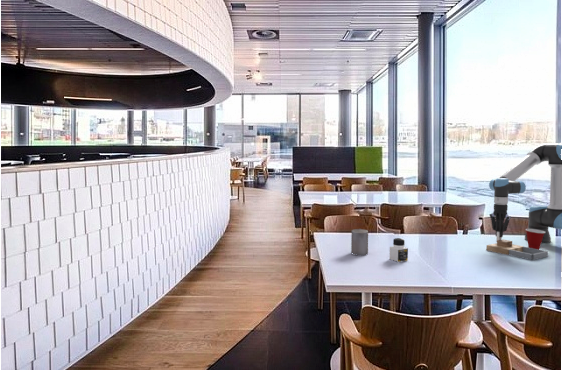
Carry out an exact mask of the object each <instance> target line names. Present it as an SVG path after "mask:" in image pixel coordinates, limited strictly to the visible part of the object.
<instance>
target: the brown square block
mask: <svg viewBox="0 0 562 370" xmlns="http://www.w3.org/2000/svg"><path fill="white" fill-rule="evenodd" d="M496 240H497V239H496ZM496 243H497V245H498V246H503V247H510V246H512V244H513V240H510V239H509V240H507V239H503V238H501V240H497V242H496Z"/></svg>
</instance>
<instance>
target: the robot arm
mask: <svg viewBox="0 0 562 370" xmlns="http://www.w3.org/2000/svg"><path fill="white" fill-rule="evenodd" d="M561 149H562V142H546V143H542V144H540V145H537V146H536V147H535V148H532V149H531V150H530V151H529V152H527V153H526V156H525V157H524V158H523V159H521V160H520V161H519V162H518V163H516V164H514V166H513V167H511V168H510V169H508V171H506V172H505V173H504V174H502V175H500V177H498V178H494V179H491V180H490V181H489V183H488V187H489V189H490V190H491V191H493V192H494V193H493V194H494V196H493V197H494V198H493V203H494V204H493V212H492V213H490V214H489V217H490V221H491V226H492V227H491V228H492V230H493V231H495V237H496V240H495V243H497V240H502V239H503V236H504V232H506V231H507V229H508V226H509V223H510V220H511V219H512V216H509V214H508V203H509V194H510V195H511V194H513V195H514V194H517V195H519V194H523V193H524V192H525V191H526V190H527V189H526V187H527V185H526V183H525V182H524V181H521V180H520V181H519V180H518V179H520V178H521V177H522V176H523V175H524V174H526V173H527V172H528V171H530V169H532V168H533V167H534V166H536V165H540V164H541V163H544V162H547V163H548V166H549V167H550V186H549V187H550V188H549V204H548V205H536V206H535V205H533V206H530V207H529V211H528V226H527V229H536V230H541V231H545V234H544V236H543V239H542V242H541V244H542V243H543V244H545V243H550V242H552V240H551V239H552V237H551V234H550V231H549V228H552V229H556V230H562V160H561V155H560V154H561ZM524 240H525V241H527V234H526V233H525V235H524Z"/></svg>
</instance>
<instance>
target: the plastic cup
mask: <svg viewBox="0 0 562 370" xmlns="http://www.w3.org/2000/svg"><path fill="white" fill-rule="evenodd" d="M525 234H527V240H526V241H527V246H528V248H533V249H538V250H541V245H542V243H541V242H542V239H543V236H544V234H545V231H541V230H536V229H528V228H525Z"/></svg>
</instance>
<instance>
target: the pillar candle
mask: <svg viewBox="0 0 562 370" xmlns="http://www.w3.org/2000/svg"><path fill="white" fill-rule="evenodd" d="M350 237H351V241H350V242H351V243H350V245H351V248H350V249H351V251H350V254H351V253H353V254H357V255H356V256H358V255H361V256H367V255H368V254H369V231H368V230H367V229H362V228H355V229H351V236H350ZM353 254H352V255H353ZM366 254H367V255H366Z"/></svg>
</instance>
